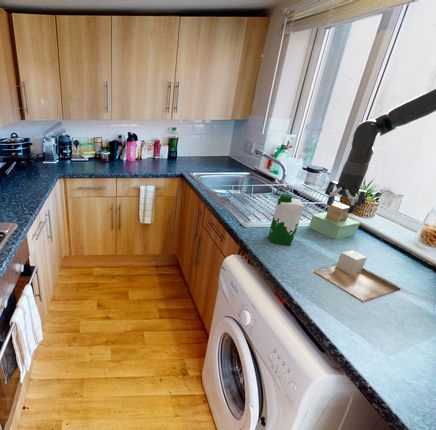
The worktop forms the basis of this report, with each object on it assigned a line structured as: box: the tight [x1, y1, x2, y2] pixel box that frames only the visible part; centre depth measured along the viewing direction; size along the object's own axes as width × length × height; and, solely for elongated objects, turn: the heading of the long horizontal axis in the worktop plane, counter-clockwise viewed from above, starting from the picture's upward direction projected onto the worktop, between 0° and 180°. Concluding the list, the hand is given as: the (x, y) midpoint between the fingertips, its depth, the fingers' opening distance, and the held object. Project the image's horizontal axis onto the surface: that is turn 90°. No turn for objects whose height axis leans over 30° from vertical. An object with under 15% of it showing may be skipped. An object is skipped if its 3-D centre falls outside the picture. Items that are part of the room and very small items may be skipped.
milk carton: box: [268, 193, 305, 247], centre depth 116 cm, size 9×9×20 cm
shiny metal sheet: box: [313, 265, 401, 303], centre depth 96 cm, size 18×16×1 cm
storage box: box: [308, 211, 362, 241], centre depth 124 cm, size 13×13×8 cm
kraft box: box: [326, 202, 350, 222], centre depth 121 cm, size 6×5×6 cm
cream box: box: [335, 249, 368, 274], centre depth 100 cm, size 6×5×6 cm
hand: (339, 209), depth 121 cm, fingers open, 8 cm apart
